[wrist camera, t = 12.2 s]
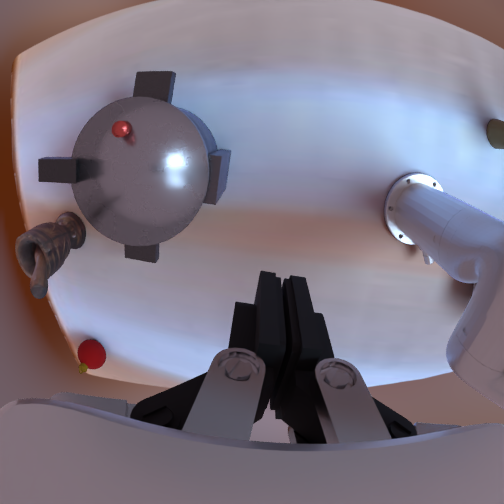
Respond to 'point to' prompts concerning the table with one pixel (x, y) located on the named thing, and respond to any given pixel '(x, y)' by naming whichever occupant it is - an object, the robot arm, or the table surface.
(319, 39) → the table surface
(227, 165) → the pot
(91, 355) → the christmas ornament
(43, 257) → the mortar and pestle
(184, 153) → the lid
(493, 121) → the olive green tall piece
